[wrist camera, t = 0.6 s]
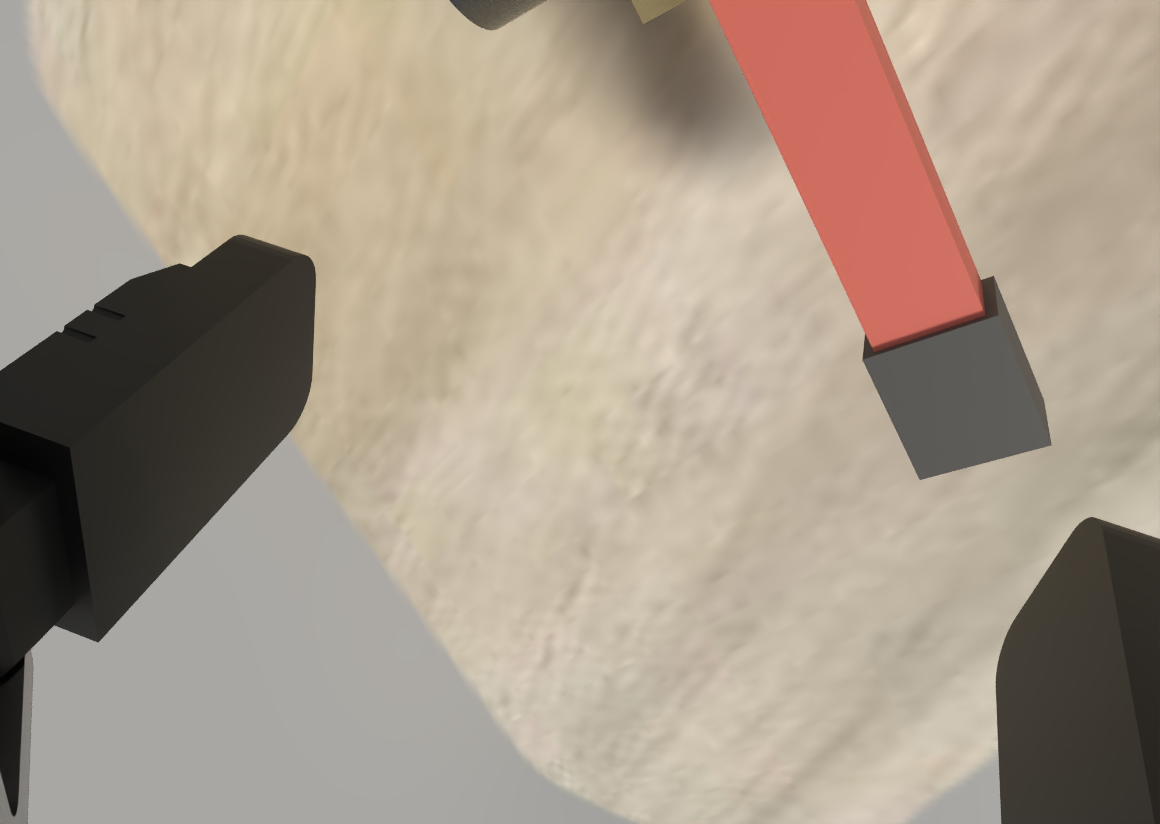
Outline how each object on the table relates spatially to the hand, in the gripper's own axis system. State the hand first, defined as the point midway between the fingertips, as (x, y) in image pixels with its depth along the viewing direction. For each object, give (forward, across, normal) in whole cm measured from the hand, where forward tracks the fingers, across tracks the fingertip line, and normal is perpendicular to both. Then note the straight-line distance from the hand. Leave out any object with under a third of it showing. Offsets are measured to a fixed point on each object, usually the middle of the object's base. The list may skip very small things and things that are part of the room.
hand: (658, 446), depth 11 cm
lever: (+18, -1, +2) cm, 18 cm away
